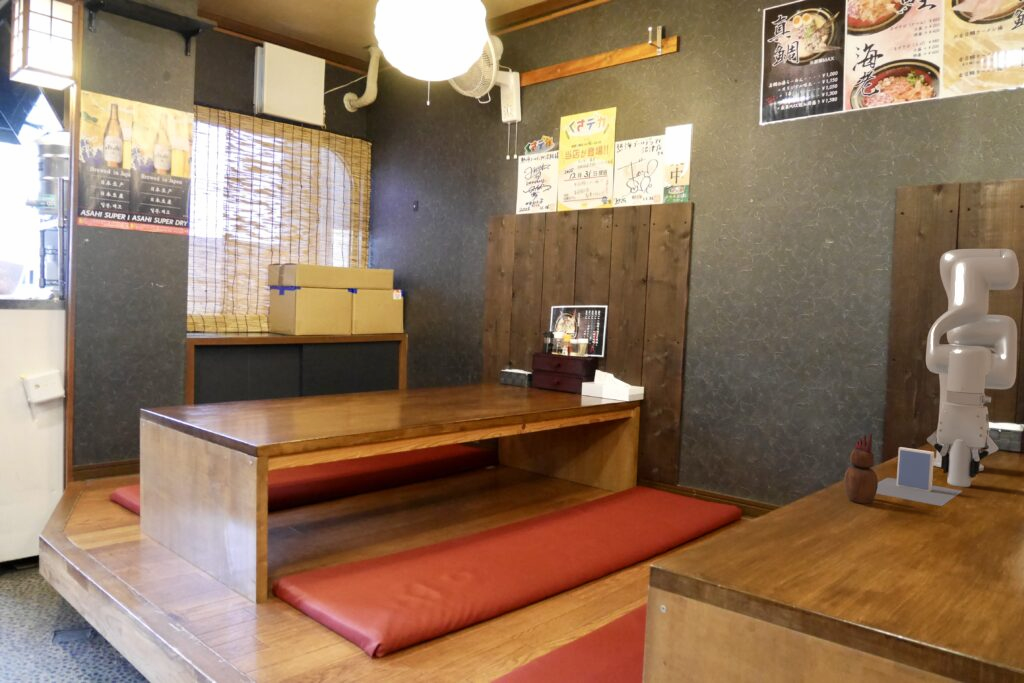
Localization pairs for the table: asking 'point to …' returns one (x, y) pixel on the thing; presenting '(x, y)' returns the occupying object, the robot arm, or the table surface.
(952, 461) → the beverage can
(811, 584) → the table surface
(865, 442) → the wooden figurine
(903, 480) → the tile
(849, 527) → the table surface
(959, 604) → the table surface
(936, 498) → the mat
